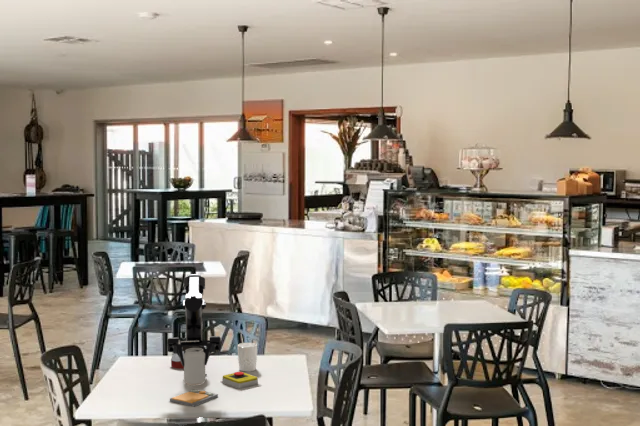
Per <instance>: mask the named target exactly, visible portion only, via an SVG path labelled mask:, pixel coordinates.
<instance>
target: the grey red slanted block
mask: <svg viewBox="0 0 640 426" xmlns="http://www.w3.org/2000/svg"><path fill="white" fill-rule="evenodd" d="M182 352H183V359H184V351H182ZM170 361H171V362H170V365H171V367H170V368H173V369H180V370H182V369H183V370H184V366H182V363H181V361H180V358H179V356H178V355H177V354H174V353H173V354H172V356H171V359H170Z"/></svg>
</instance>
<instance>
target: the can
mask: <svg viewBox="0 0 640 426" xmlns="http://www.w3.org/2000/svg"><path fill="white" fill-rule="evenodd" d="M185 351H186V352H185V353H184V369H183V381H184V383H186V385H188V386H199V385H203V384H204V383H205V382H206V376H205V374H206V365H205V353H204V352H203V349H202V348H189V349H186V350H185Z"/></svg>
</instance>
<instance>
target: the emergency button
mask: <svg viewBox="0 0 640 426" xmlns="http://www.w3.org/2000/svg"><path fill="white" fill-rule="evenodd" d="M258 379H259V378H258V376H255V375H254V374H253V375H252V374H249V373H246V372H245V371H236V372H232V373H228V374H224V375H222V380H220V383H222V384H224V385H227V386H229V387H232V388H235V389H237V390H240V391H246V390H249V389H254V388H257V387H262V384H261V383H259V380H258Z"/></svg>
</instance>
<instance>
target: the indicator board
mask: <svg viewBox="0 0 640 426" xmlns="http://www.w3.org/2000/svg"><path fill="white" fill-rule="evenodd" d="M217 398H219V394H218V393H214V392H212V391H209V392H208V391H205V390H199V389H191V390H190V391H186V392H184V393H181V394H178V395H176V396H173V397H170V398H169V402H170V403H176V404H180V405H186V406H191V407H196V406H199V405H201V404H205V403H206V402H209V401H210V400H214V399H217Z"/></svg>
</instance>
